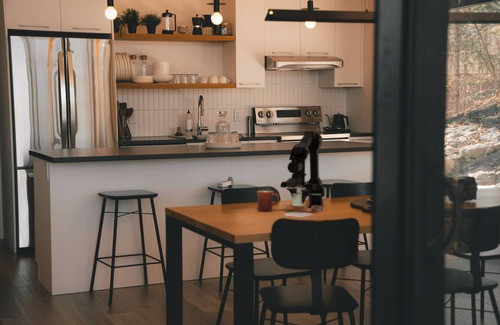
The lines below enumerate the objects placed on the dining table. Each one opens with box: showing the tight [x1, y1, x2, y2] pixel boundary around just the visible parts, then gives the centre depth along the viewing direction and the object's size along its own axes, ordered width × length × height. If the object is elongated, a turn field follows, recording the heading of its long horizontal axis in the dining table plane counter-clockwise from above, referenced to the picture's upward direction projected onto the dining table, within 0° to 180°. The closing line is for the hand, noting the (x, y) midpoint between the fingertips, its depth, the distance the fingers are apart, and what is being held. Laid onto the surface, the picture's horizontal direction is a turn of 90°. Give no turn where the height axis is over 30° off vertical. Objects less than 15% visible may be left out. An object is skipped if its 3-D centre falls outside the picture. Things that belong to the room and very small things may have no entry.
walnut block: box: [310, 205, 324, 213], centre depth 366 cm, size 5×5×3 cm
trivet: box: [284, 211, 313, 218], centre depth 351 cm, size 10×10×1 cm
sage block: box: [291, 192, 306, 207], centre depth 351 cm, size 4×4×6 cm
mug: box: [256, 190, 280, 213], centre depth 363 cm, size 12×9×10 cm
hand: (298, 202), depth 351 cm, fingers closed on sage block, 4 cm apart
